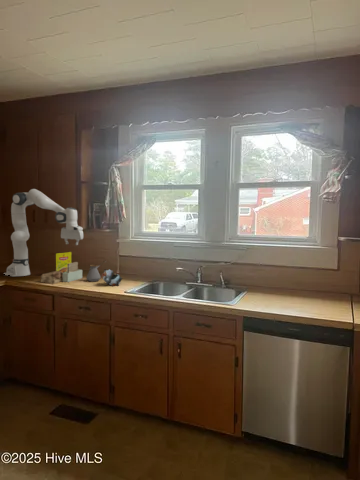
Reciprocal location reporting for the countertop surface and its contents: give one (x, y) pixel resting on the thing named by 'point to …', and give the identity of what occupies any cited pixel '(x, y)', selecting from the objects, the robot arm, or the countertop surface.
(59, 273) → the offcut top
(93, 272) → the coffee pot
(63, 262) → the food package
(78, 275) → the slot stand
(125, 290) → the countertop surface
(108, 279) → the blue-grey irregular lump
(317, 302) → the countertop surface
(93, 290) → the countertop surface
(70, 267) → the birch sheet
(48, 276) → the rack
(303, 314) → the countertop surface
